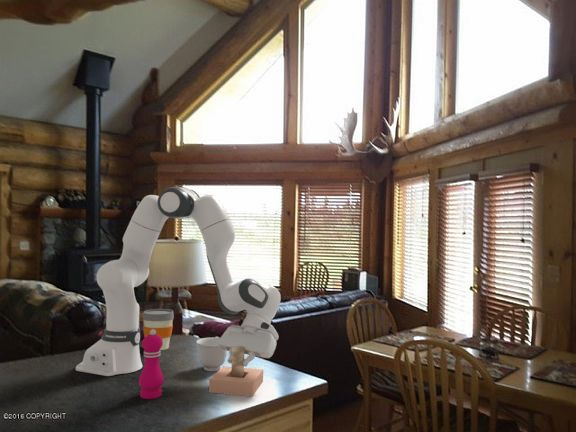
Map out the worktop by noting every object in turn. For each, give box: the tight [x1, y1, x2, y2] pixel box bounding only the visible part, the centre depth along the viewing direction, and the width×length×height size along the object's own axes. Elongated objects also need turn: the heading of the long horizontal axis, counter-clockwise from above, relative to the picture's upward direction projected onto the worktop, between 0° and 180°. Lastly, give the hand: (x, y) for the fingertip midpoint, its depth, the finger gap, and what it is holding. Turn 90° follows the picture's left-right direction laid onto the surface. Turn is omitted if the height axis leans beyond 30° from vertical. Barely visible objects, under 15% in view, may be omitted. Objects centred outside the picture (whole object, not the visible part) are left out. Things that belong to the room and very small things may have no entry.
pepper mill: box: [138, 329, 164, 400], centre depth 146 cm, size 7×7×20 cm
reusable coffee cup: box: [142, 308, 175, 351], centre depth 200 cm, size 13×13×15 cm
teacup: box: [195, 336, 228, 372], centre depth 175 cm, size 12×15×10 cm
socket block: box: [208, 365, 264, 397], centre depth 156 cm, size 14×14×4 cm
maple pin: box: [231, 346, 245, 378], centre depth 156 cm, size 4×4×11 cm
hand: (236, 363), depth 155 cm, fingers closed on maple pin, 4 cm apart
